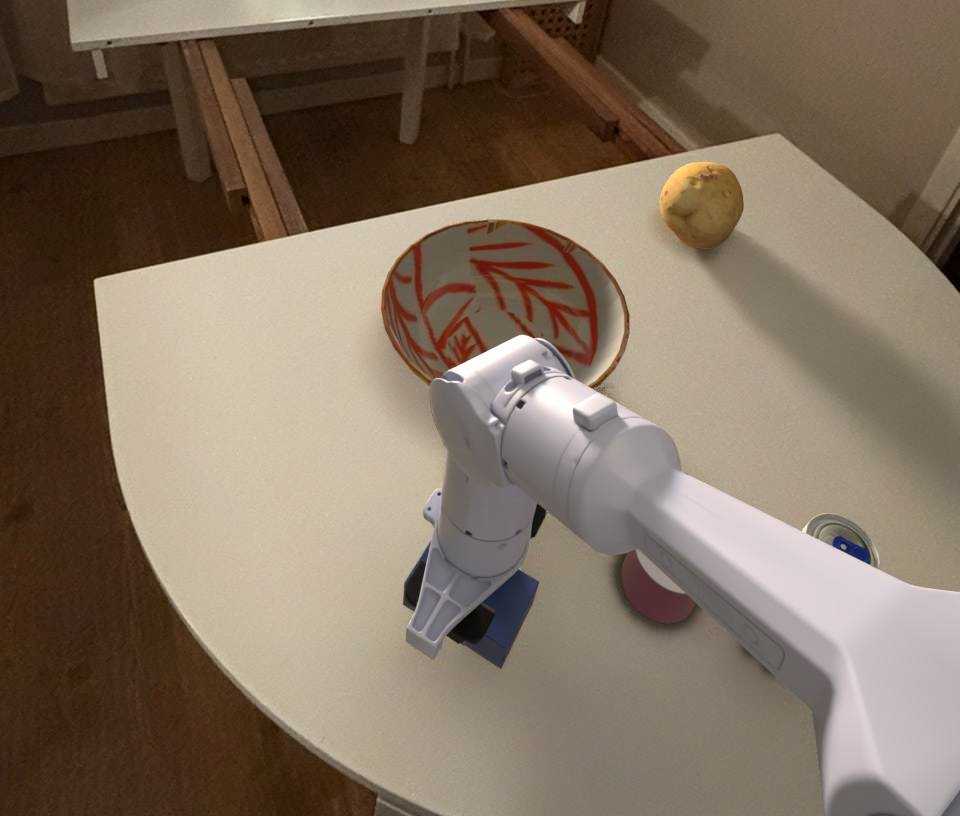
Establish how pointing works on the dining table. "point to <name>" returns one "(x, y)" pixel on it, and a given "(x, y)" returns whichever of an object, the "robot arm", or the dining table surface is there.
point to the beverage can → (844, 537)
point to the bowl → (503, 298)
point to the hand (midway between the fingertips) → (470, 593)
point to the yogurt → (653, 590)
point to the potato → (702, 204)
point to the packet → (500, 614)
